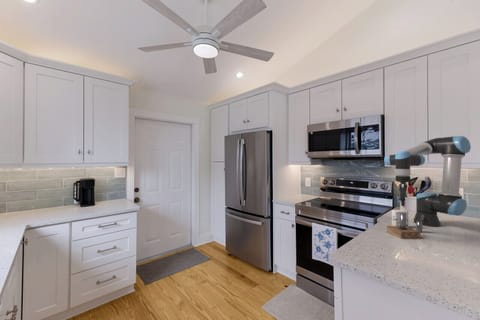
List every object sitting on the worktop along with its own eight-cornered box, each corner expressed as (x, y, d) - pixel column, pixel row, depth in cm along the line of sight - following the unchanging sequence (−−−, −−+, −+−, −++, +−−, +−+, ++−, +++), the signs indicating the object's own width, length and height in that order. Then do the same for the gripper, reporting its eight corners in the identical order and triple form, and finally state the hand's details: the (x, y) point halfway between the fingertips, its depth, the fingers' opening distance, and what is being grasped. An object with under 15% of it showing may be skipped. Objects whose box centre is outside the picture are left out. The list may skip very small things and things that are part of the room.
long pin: (403, 234, 134) (403, 212, 134) (407, 236, 131) (407, 213, 131) (398, 234, 134) (398, 212, 134) (402, 236, 131) (402, 213, 131)
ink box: (403, 226, 151) (403, 210, 151) (408, 228, 146) (408, 211, 146) (391, 225, 151) (391, 209, 151) (395, 228, 146) (395, 211, 147)
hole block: (404, 231, 138) (404, 225, 138) (420, 238, 126) (420, 232, 126) (386, 231, 138) (386, 225, 138) (401, 238, 126) (401, 232, 126)
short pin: (419, 231, 140) (420, 220, 140) (423, 232, 137) (423, 222, 137) (414, 230, 140) (415, 220, 140) (418, 232, 137) (418, 221, 137)
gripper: (396, 174, 144) (397, 204, 144) (394, 176, 125) (394, 212, 125) (410, 174, 140) (411, 206, 140) (410, 177, 120) (410, 213, 120)
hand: (403, 208), depth 132 cm, fingers open, 13 cm apart
